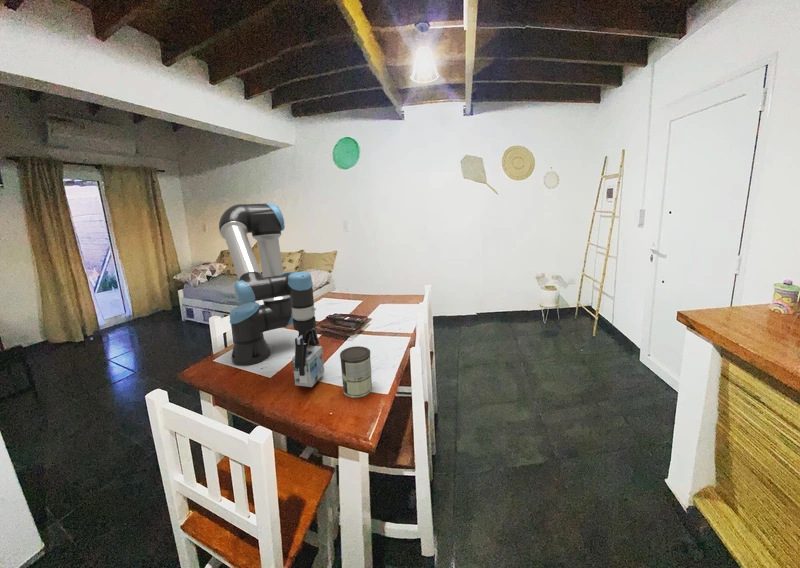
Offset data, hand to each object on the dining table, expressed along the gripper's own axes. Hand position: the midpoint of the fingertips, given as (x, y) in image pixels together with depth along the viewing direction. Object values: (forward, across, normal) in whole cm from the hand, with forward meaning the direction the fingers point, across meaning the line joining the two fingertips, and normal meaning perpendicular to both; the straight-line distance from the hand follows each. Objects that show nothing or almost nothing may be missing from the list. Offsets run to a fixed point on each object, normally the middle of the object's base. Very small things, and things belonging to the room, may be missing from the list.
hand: (309, 373), depth 114 cm
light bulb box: (+2, 0, 0) cm, 2 cm away
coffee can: (+4, -4, -18) cm, 19 cm away
